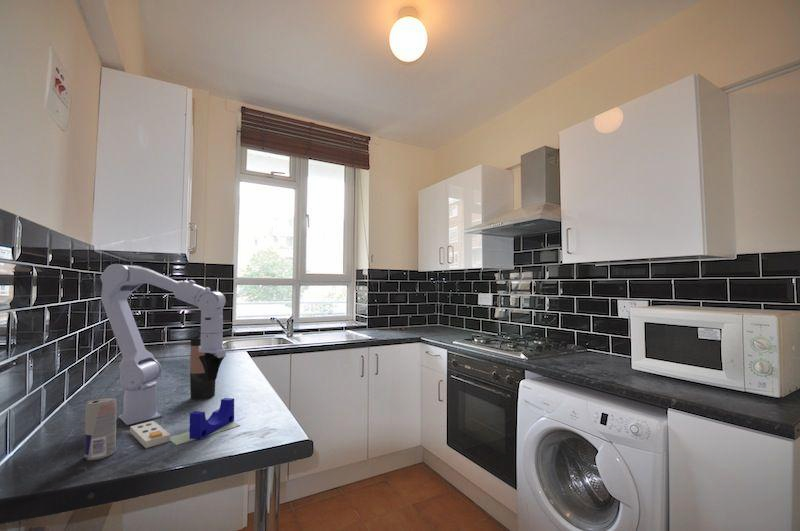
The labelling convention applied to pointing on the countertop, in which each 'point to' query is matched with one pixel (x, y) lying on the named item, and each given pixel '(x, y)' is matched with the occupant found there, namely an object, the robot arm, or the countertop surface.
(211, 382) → the travel mug
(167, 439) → the power strip
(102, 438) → the energy drink
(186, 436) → the mat
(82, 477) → the countertop surface
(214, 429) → the cable clip
